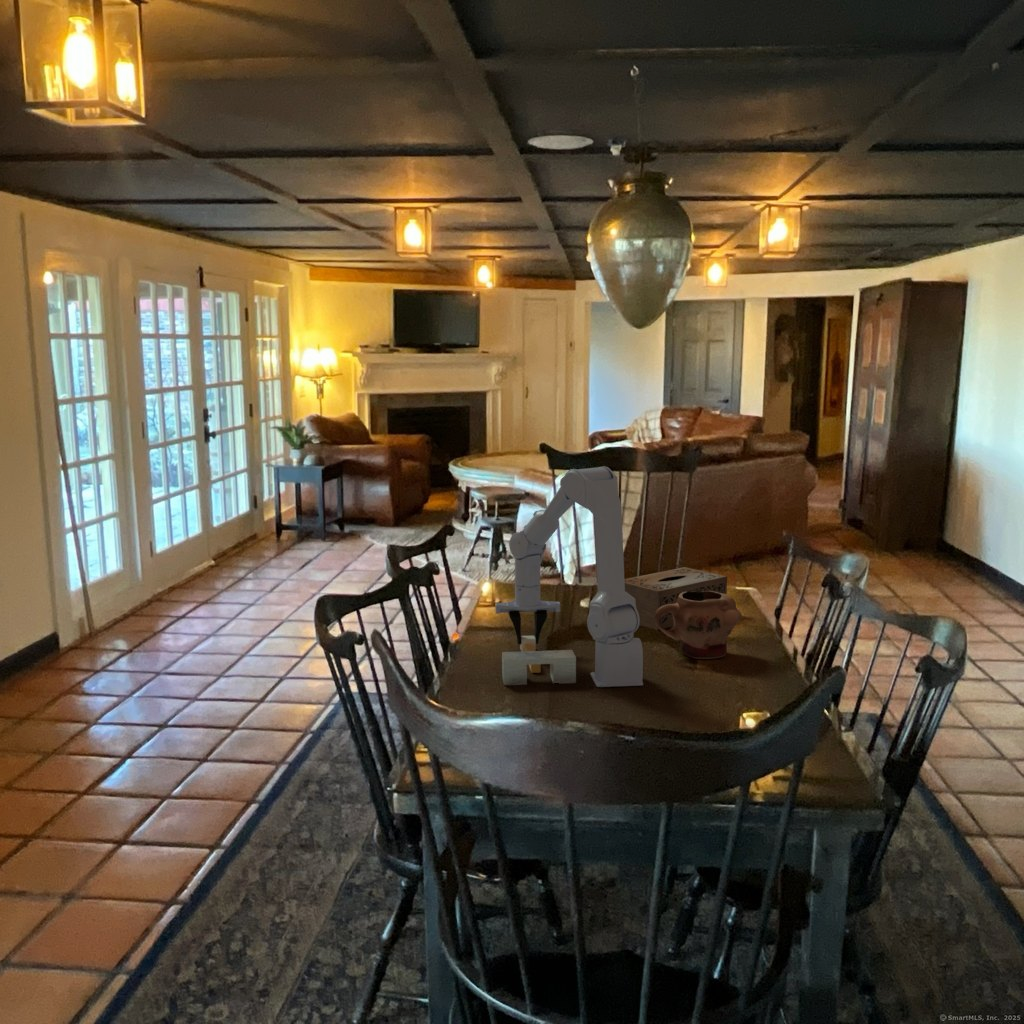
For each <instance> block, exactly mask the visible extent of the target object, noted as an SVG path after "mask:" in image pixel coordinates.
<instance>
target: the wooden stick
mask: <svg viewBox="0 0 1024 1024" xmlns="http://www.w3.org/2000/svg"><path fill="white" fill-rule="evenodd" d="M519 645H520V647H519V648H520V651H537V649H536V648H537V644H536V639H535V636H534V635H521V644H519ZM541 665H542V664H531V665H528V668H529V671H530V673H531V674H534V673H535V674H536V673H537V674H539V673H541V672H542V670H541V668H542V666H541Z"/></svg>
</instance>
